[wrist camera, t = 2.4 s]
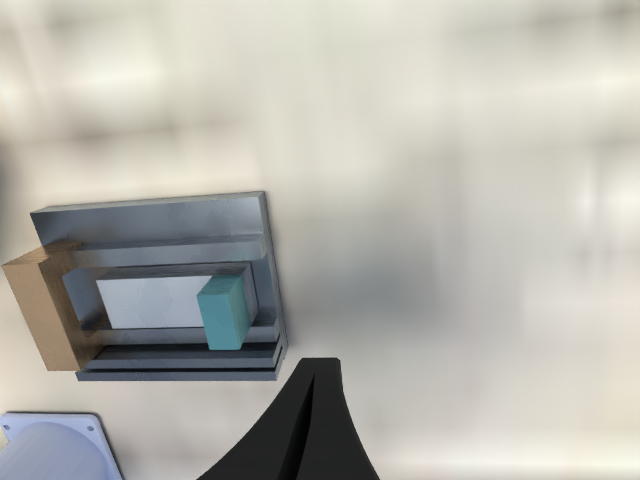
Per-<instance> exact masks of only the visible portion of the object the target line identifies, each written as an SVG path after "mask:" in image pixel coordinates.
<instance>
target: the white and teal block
mask: <svg viewBox="0 0 640 480" xmlns="http://www.w3.org/2000/svg"><path fill="white" fill-rule="evenodd" d="M96 282H97V285H98V288H99V291H100V294H101V296H102V299H103V302H104V305H105V308H106V311H107V314H108V317H109V319H110V322H111V325H112V328H113V329H116V328H161V327H204V329H205V333H206V337H207V341H208V345H209V349H210V350H240V347H241V345H242V343H243V341H244V339H245V337H246V335H247V333H248V331H249V329H250V327H251V325H252V323H253V321H254V319H255V317H256V314H257V312H258V304H257V299H256V293H255V288H254V282H253V277H252V271H251V265H250V262H238V263H216V264H194V265H173V266H151V267H130V268H113V269H112V270H110V271H109V272H108V273H106V274H105V275H103V276H102V277H100V278H99V279H97V280H96Z"/></svg>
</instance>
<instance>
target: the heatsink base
mask: <svg viewBox="0 0 640 480" xmlns="http://www.w3.org/2000/svg"><path fill="white" fill-rule="evenodd" d="M30 216H31V218H32V221H33V223H34V226H35V228H36V231H37V233H38V236H39V239H40V241H41V244H42V247H40V248H37V249H35V250H33V251H31V252H29V253H27V254H25V255H23V256H20V257H18V258H16V259H14V260H12V261H10V262H8V263H6V264H3V265H1V266H2V268H3V271H4V273H5V275H6V277H7V280H8V282H9V284H10V286H11V289H12V291H13V293H14V295H15V298H16V300H17V302H18V304H19V307H20V309H21V311H22V314H23V316H24V318H25V320H26V323H27V325H28V327H29V329H30V332H31V334H32V336H33V338H34V341H35V343H36V345H37V347H38V350H39V352H40V354H41V357H42V359H43V361H44V363H45V366H46V368H47V370H48V371H76V372H75V374H76V376H77V379H78V381H277V378H278V375H279V371H280V368H281V365H282V361H283V359H285V356H286V352H287V349H288V343H287V337H286V330H285V324H284V317H283V311H282V304H281V298H280V291H279V285H278V278H277V272H276V265H275V259H274V252H273V246H272V239H271V233H270V226H269V220H268V213H267V207H266V201H265V194H264V191H259V192H245V193H231V194H218V195H204V196H190V197H176V198H163V199H149V200H135V201H121V202H108V203H94V204H80V205H66V206H53V207H45V208H42V209H39V210H37V211H34V212H31V213H30ZM238 262H250V265H251V271H252V277H253V282H254V288H255V293H256V299H257V304H258V312H257V314H256V317H255V319H254V321H253V323H252V325H251V327H250V329H249V331H248V333H247V335H246V337H245V339H244V341H243V343H242V345H241V347H240V350H210V349H209V345H208V341H207V337H206V333H205V329H204V327H161V328H116V329H113V328H112V325H111V322H110V319H109V317H108V314H107V311H106V308H105V305H104V302H103V299H102V296H101V294H100V291H99V288H98V285H97V282H96V280H97V279H99V278H100V277H102V276H103V275H105V274H106V273H108V272H109V271H110V270H112V269H113V268H130V267H151V266H173V265H194V264H216V263H238Z"/></svg>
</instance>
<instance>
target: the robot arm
mask: <svg viewBox="0 0 640 480" xmlns="http://www.w3.org/2000/svg"><path fill="white" fill-rule="evenodd" d="M0 425H1V427H2V429H3V431H4V433H5V435H6V437H7V439H8V440H9V443H8V444H7V445H6V446H5V447H4V448H3V449H2V450H1V451H0V480H122V478H121V475H120V473H119V471H118V468H117V466H116V463H115V461H114V458H113V456H112V453H111V451H110V448H109V446H108V443H107V441H106V439H105V436H104V434H103V431H102V429H101V426H100V424H99V421H98V419H97V417H95V416H94V415H91V414H14V413H5V414H3V415H2V416H0ZM197 480H380V479H379V477H378V475H377V473H376V471H375V470H374V468H373V466H372V464H371V462H370V460H369V458H368V456H367V454H366V452H365V450H364V448H363V446H362V443H361V441H360V439H359V437H358V434H357V432H356V429H355V427H354V424H353V421H352V419H351V416H350V413H349V410H348V407H347V404H346V400H345V396H344V393H343V385H342V374H341V364H340V360H339V359H338V358H302V359H301V360H300V361H299V363H298V365H297V366H296V368H295V370H294V371H293V373H292V374H291V376H290V377H289V379H288V381H287V382H286V384H285V385H284V387H283V388H282V389H281V391H280V392H279V394H278V395H277V396H276V398H275V399H274V401H273V402H272V403H271V405H270V406H269V407H268V408H267V410H266V411H265V412H264V413H263V415H262V416H261V417H260V418H259V420H258V421H257V422H256V423H255V424H254V426H253V427H252V428H251V429H250V430H249V431H248V432H247V433H246V434H245V436H244V437H243V438H242V439H241V440H240V441H239V442H238V443H237V444H236V445H235V446H234V447H233V448H232V449H231V450H230V451H229V452H228V453H227V454H226V455H225V456H223V457H222V458H221V459H220V460H219V461H218V462H217V463H216V464H215V465H214V466H212V467H211V468H210V469H209V470H208V471H206V472H205V473H204V474H203V475H202V476H200V477H199V478H198V479H197Z"/></svg>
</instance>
